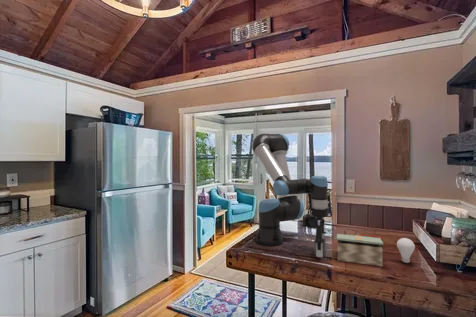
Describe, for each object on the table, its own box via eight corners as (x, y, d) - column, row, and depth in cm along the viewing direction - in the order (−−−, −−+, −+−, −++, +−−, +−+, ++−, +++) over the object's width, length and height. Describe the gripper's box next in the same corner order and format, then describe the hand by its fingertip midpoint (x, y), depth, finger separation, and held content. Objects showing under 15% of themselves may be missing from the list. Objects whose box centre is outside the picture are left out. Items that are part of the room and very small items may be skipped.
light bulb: (408, 267, 108) (408, 241, 108) (393, 261, 114) (393, 237, 114) (418, 264, 110) (418, 239, 110) (403, 258, 116) (403, 235, 116)
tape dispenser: (359, 259, 121) (395, 253, 125) (358, 248, 121) (395, 242, 124) (338, 244, 139) (370, 239, 142) (337, 235, 138) (370, 230, 142)
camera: (302, 228, 167) (302, 213, 167) (302, 224, 176) (302, 210, 176) (324, 229, 164) (323, 214, 164) (322, 225, 174) (321, 210, 174)
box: (337, 260, 116) (337, 242, 116) (338, 251, 126) (337, 235, 126) (382, 266, 109) (382, 248, 109) (379, 256, 119) (379, 239, 119)
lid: (336, 239, 116) (336, 237, 116) (337, 235, 126) (337, 233, 126) (383, 244, 108) (383, 242, 108) (379, 239, 119) (379, 237, 119)
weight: (314, 255, 122) (314, 241, 122) (315, 251, 126) (315, 237, 126) (325, 257, 120) (325, 242, 120) (325, 253, 125) (325, 239, 124)
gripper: (326, 213, 110) (327, 262, 110) (329, 203, 133) (330, 244, 133) (308, 212, 113) (309, 260, 113) (314, 203, 136) (315, 242, 136)
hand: (320, 251), depth 123 cm, fingers open, 13 cm apart
